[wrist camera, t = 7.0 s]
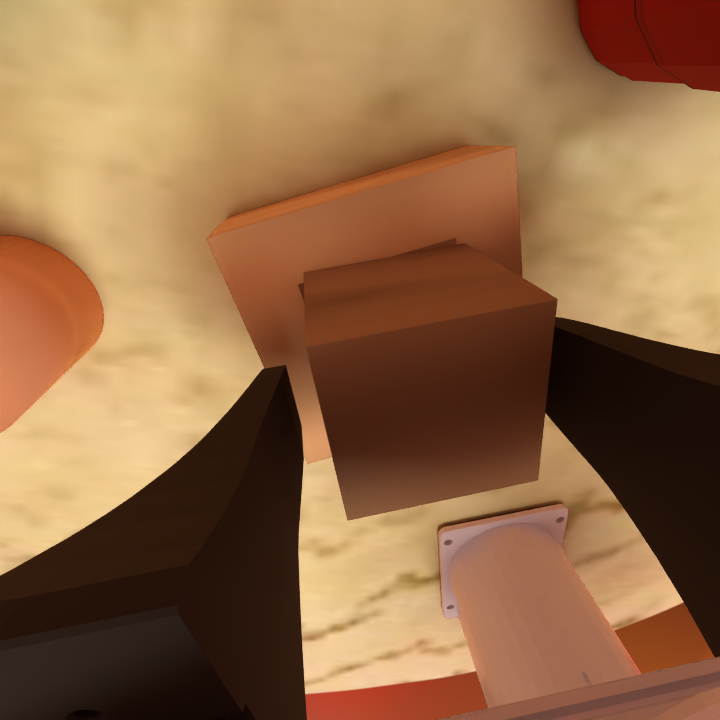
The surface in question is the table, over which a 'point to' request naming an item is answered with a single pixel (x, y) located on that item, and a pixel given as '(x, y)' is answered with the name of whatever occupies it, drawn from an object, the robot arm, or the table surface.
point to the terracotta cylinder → (41, 322)
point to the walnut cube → (428, 375)
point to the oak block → (360, 247)
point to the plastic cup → (656, 39)
